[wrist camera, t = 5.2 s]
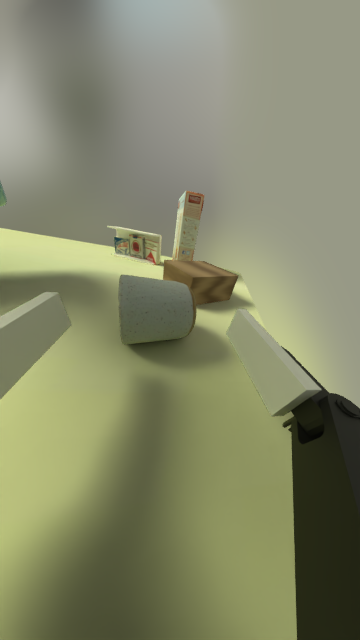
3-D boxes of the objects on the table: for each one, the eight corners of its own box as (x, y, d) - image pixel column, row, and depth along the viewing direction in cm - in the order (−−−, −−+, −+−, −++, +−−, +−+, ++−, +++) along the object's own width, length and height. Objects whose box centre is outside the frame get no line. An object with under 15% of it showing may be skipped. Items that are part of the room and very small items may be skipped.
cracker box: (191, 271, 49) (205, 194, 37) (175, 269, 47) (184, 189, 36) (185, 262, 60) (194, 201, 48) (172, 260, 59) (178, 197, 47)
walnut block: (187, 307, 26) (192, 277, 23) (162, 284, 34) (164, 259, 31) (228, 300, 32) (238, 275, 28) (199, 282, 40) (204, 261, 36)
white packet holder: (110, 254, 52) (106, 225, 46) (120, 253, 56) (117, 226, 51) (156, 266, 47) (157, 235, 42) (163, 263, 52) (164, 235, 47)
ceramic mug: (192, 349, 17) (208, 292, 13) (123, 360, 14) (112, 292, 10) (170, 307, 25) (175, 264, 21) (123, 309, 22) (118, 260, 18)
